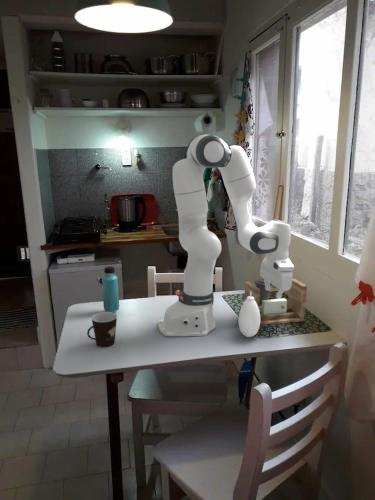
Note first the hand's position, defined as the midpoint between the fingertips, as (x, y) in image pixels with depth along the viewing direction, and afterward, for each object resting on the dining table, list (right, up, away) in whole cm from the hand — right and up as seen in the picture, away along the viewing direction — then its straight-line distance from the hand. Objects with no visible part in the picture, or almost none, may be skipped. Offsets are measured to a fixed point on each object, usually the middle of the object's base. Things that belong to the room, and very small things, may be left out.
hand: (272, 293), depth 153 cm
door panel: (+1, -10, +3) cm, 10 cm away
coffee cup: (0, -6, +22) cm, 22 cm away
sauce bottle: (-12, -14, -12) cm, 22 cm away
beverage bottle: (-66, -9, +7) cm, 67 cm away
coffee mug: (-65, -16, -19) cm, 69 cm away
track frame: (+1, -10, +3) cm, 11 cm away
